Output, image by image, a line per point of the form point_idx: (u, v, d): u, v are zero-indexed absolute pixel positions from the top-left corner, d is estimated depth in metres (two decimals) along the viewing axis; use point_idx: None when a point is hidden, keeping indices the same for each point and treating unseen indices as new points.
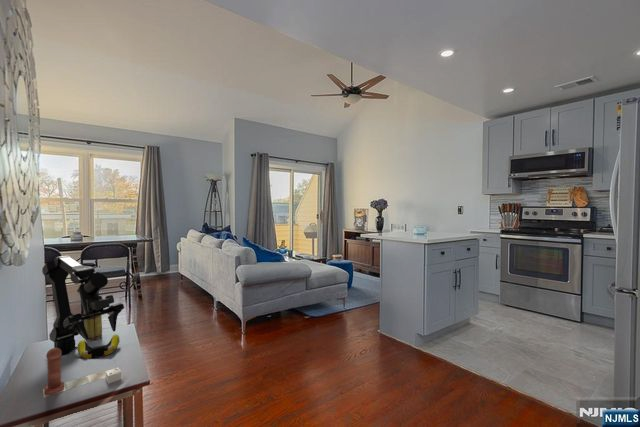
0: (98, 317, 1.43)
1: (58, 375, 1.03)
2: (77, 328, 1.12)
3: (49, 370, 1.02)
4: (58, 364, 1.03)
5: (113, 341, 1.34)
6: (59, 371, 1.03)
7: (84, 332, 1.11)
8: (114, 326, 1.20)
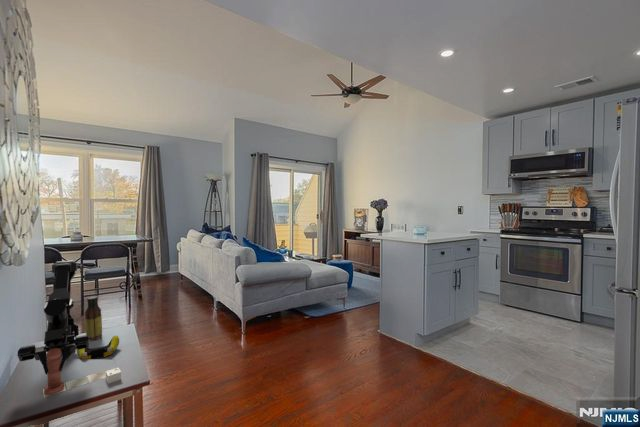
0: (98, 317, 1.43)
1: (58, 375, 1.03)
2: None
3: (49, 370, 1.02)
4: (58, 364, 1.03)
5: (113, 342, 1.33)
6: (59, 371, 1.03)
7: (44, 364, 1.02)
8: (61, 364, 1.04)
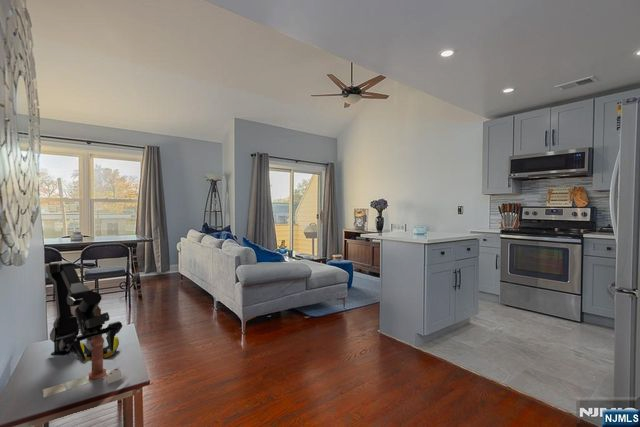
0: None
1: (102, 361, 1.13)
2: (74, 349, 1.09)
3: (95, 357, 1.11)
4: (102, 351, 1.13)
5: None
6: (102, 358, 1.13)
7: (80, 352, 1.08)
8: (111, 345, 1.15)
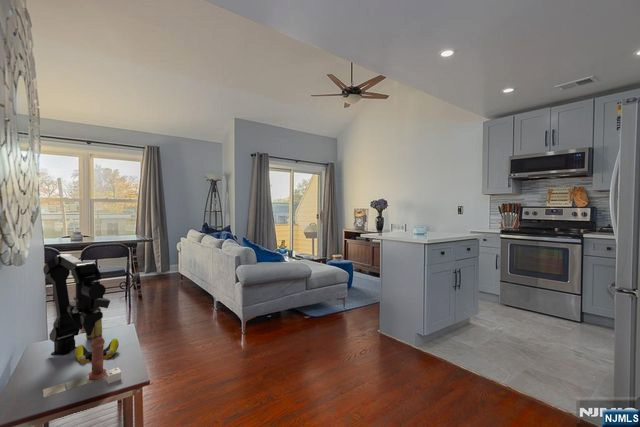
0: None
1: (102, 361, 1.12)
2: (87, 323, 1.17)
3: (95, 357, 1.10)
4: None
5: (112, 345, 1.30)
6: None
7: (93, 327, 1.20)
8: (82, 324, 1.25)
